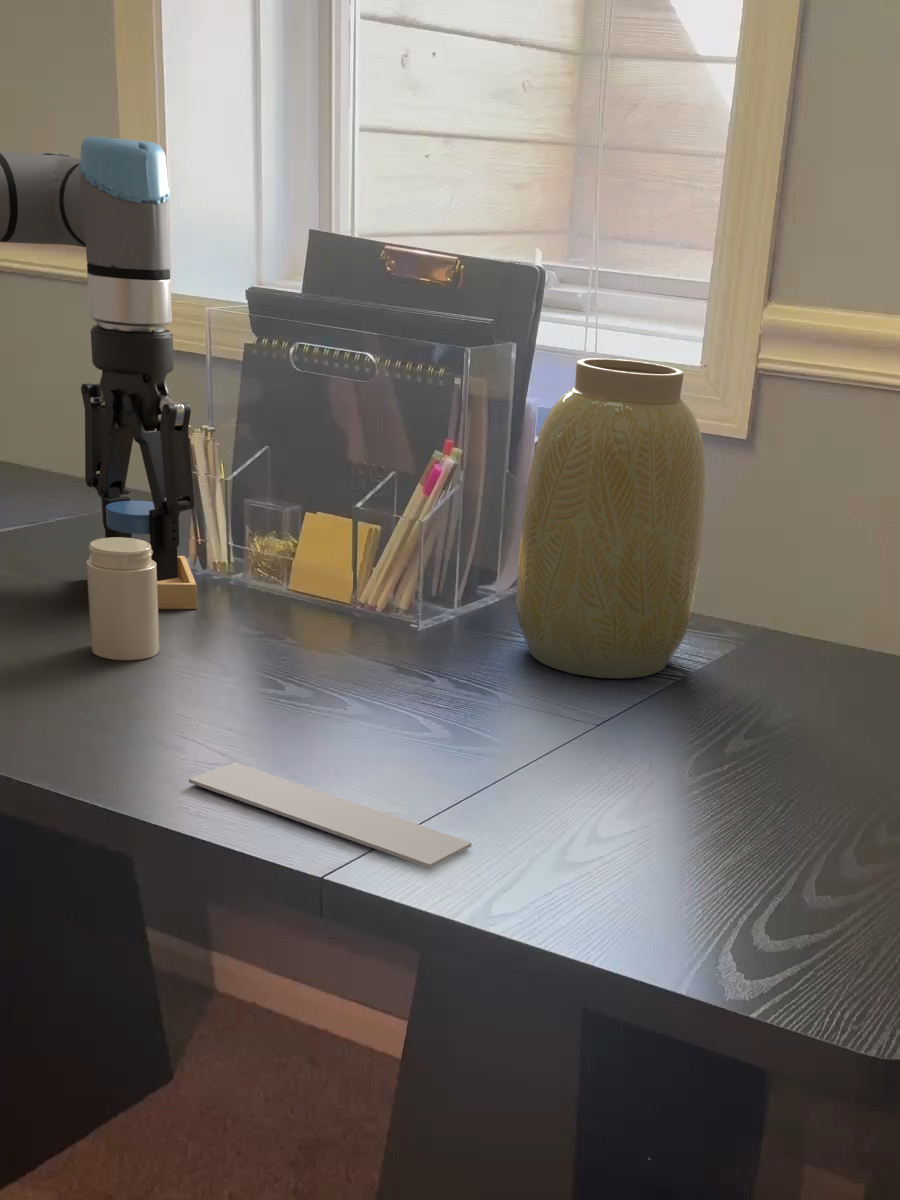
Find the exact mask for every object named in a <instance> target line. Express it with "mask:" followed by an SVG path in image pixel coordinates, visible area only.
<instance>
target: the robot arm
mask: <svg viewBox="0 0 900 1200" xmlns="http://www.w3.org/2000/svg"><path fill="white" fill-rule="evenodd" d="M167 169H168V168H167V157H166V153H165V151H164V149H163V148H162V146H160V144H158V143H157V142H153V141H145V140H144V141H143V140H135V139H127V138H126V139H125V138H114V137H105V136H104V137H103V136H87V137H85V138H84V139H83V141H82V142H81V145H80V158H79V157H75V156H74V157H73V156H70V155H68V154H63V153H51V152H42V153H40V154H39V153H28V152H16V151H15V152H14V151H2V150H1V151H0V243H9V244H10V243H12V244H30V245H31V244H33V245H57V246H58V245H61V246H73V247H81V248H85V252H86V253H85V257H86V263H87V264H86V270H87V271H86V275H87V276H86V277H87V278H86V280H87V281H86V282H87V296H88V297H87V301H88V316H89V318H90V319H91V320H92V321H94V322H96V324H95V325H93V326H92V328H90V344H91V345H90V346H91V362H92V365H93V366H94V367H95V368H96V369H98V370H99V371H101V377H100V380H99V382H91V383H90V382H88V383H82V384H81V386H80V393H81V397H82V402H83V407H84V467H85V468H84V471H85V472H84V474H85V475H84V479H85V484H86V486H87V487H89V488H94V489H95V490H96V492H97V495H98V496H99V498H101V512H102V514H101V515H102V516H101V517H102V526H103V529H104V534H105V535H104V536H105V537H104V538H111V537H123V538H133V534H131V533H124V532H119V531H115V530H112V529H110V528H108V527H107V521H106V505H108V504H110V503H113V502H119V501H131V497H129V496H123V495H129V494H130V493H131V491H130V490H129V488H127V487H126V483H127V478H128V472H129V467H130V466H129V465H130V461H131V455H132V449H133V444H134V443H133V442H135V443H137V444H138V446H139V448H140V452H141V453H140V454H141V457H142V461H143V465H144V469H145V474H146V477H147V483H148V486H149V490H150V494H151V495H150V496H151V499H152V502H153V503H154V508H155V509H153V510H149V525H150V534H149V543H150V545H151V549H152V551H153V554H152V560H154V561H155V562H156V564H157V581H162V580H167V579H173V578H178V558H177V556H178V547H179V546H180V514H181V512H185V511H189V510H190V511H191V510H193V509H194V508H195V499H194V498H195V495H194V484H193V482H194V481H193V471H192V470H193V469H192V458H191V446H190V433H189V427H190V419H191V413H192V408H191V405H190V404H189V403H188V402H178V401H176V400H174V399H173V398H172V397H170V391H169V389H168V386H167V385H168V384H167V376H168V374H169V373H171V372H172V371H173V370H174V368H175V361H174V334H173V333H171V330H169V329H167V328H166V326H169V325H171V323H172V322H173V313H172V311H173V310H172V287H171V286H172V284H171V269H172V268H171V267H172V266H171V265H172V264H171V215H170V206H171V205H170V197H171V189H170V186H169V183H168V170H167ZM97 472H99V473H97Z"/></svg>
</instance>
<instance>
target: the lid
mask: <svg viewBox="0 0 900 1200" xmlns="http://www.w3.org/2000/svg"><path fill="white" fill-rule="evenodd" d="M153 509H155V508H154V503H153V501H148V500H130V501H119V502H113V503H110V504H108V505H106V521H107V527H108V528H110V529H112V530H115V531H119V532H124V533H131V534H132V535H150V525H149V510H153Z"/></svg>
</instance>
